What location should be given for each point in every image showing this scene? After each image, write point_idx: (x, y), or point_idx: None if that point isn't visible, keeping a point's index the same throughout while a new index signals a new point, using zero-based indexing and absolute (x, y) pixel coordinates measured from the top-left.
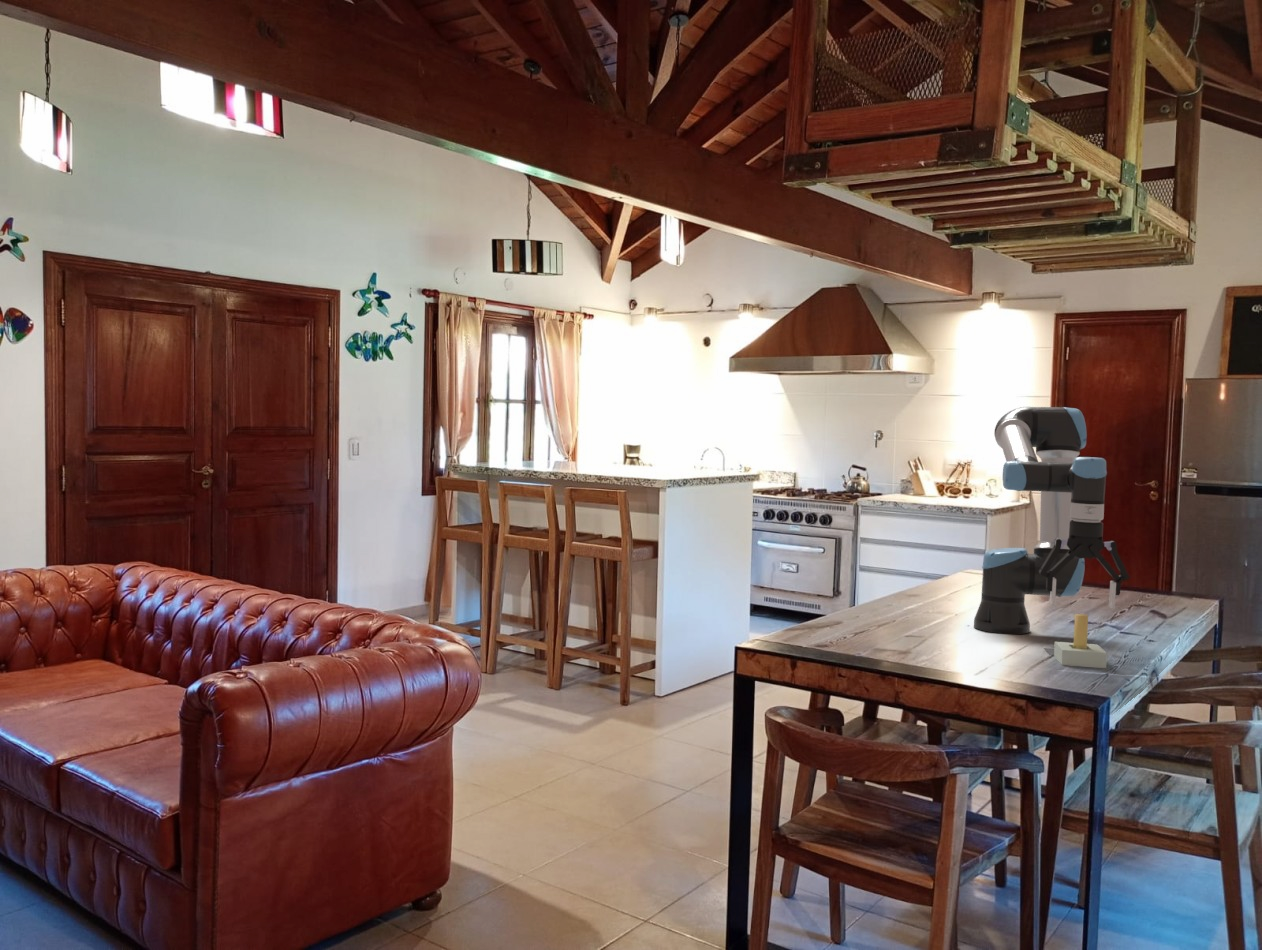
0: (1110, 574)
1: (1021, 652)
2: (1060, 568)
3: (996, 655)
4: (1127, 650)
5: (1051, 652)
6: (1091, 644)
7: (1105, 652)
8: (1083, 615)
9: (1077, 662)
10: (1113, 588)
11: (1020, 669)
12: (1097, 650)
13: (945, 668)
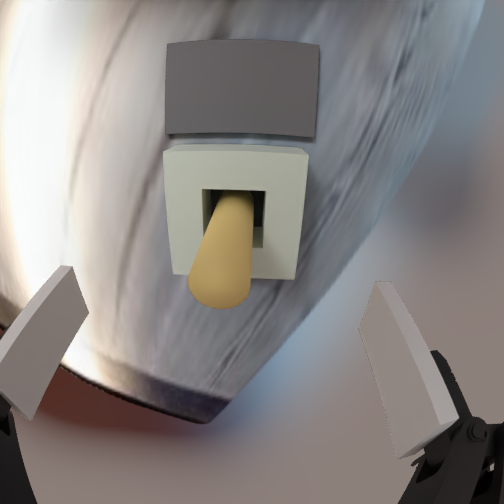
0: (407, 502)
1: (105, 104)
2: (24, 484)
3: (56, 173)
4: (420, 6)
5: (177, 99)
6: (286, 159)
7: (293, 273)
8: (225, 293)
9: None
10: (392, 425)
11: (106, 290)
12: (277, 252)
13: None
